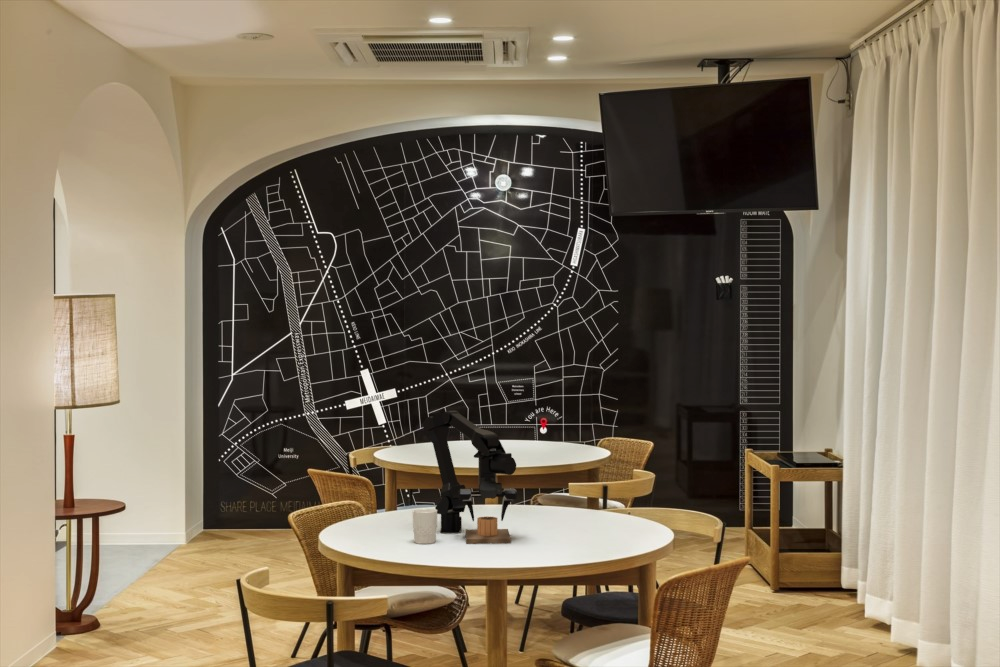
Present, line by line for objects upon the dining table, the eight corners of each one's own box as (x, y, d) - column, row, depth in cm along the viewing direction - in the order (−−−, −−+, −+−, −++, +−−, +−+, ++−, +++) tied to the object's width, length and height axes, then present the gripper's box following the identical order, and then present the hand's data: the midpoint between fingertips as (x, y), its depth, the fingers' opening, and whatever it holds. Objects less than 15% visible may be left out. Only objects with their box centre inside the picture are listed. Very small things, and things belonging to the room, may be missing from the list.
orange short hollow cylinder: (477, 535, 307) (477, 520, 307) (477, 532, 314) (477, 516, 314) (497, 535, 308) (497, 519, 308) (496, 531, 314) (496, 516, 314)
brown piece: (466, 543, 302) (466, 523, 302) (465, 534, 318) (465, 514, 318) (510, 543, 303) (510, 522, 303) (507, 533, 319) (507, 513, 319)
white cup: (408, 543, 303) (408, 511, 303) (419, 539, 311) (418, 507, 311) (431, 545, 301) (431, 513, 301) (441, 540, 308) (441, 509, 308)
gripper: (458, 476, 302) (458, 526, 302) (518, 475, 303) (518, 525, 303) (458, 471, 313) (458, 519, 313) (515, 470, 314) (515, 518, 314)
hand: (487, 521), depth 311 cm, fingers open, 9 cm apart
